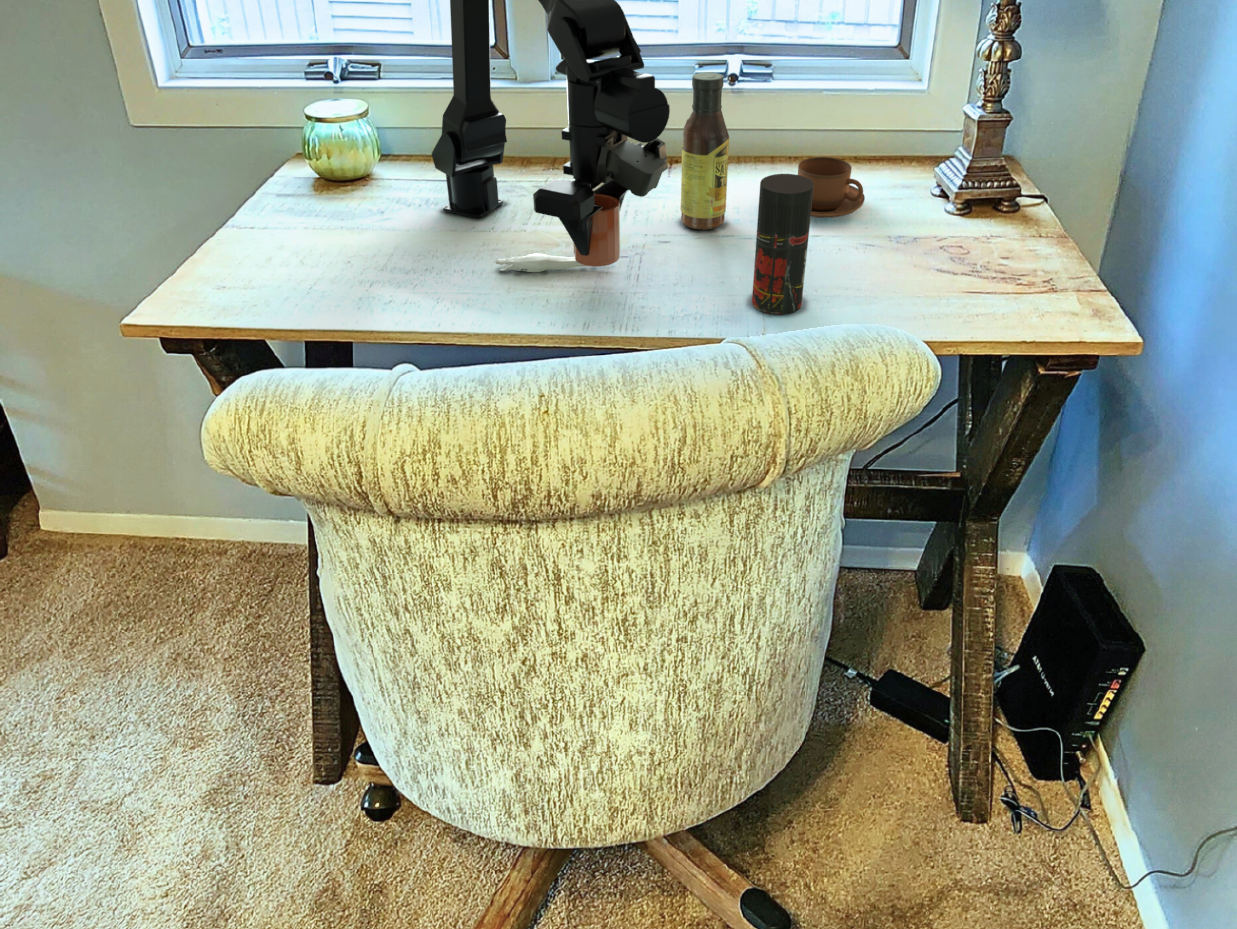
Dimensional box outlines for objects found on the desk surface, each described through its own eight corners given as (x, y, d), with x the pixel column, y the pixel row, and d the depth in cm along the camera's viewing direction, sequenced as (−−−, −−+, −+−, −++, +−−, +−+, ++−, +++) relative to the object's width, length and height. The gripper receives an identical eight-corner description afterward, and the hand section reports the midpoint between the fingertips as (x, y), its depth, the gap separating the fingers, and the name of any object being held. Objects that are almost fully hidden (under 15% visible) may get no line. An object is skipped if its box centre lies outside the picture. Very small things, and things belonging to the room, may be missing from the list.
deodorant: (747, 293, 126) (755, 174, 117) (795, 290, 126) (806, 172, 117) (757, 316, 121) (766, 194, 112) (806, 313, 121) (819, 192, 112)
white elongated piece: (495, 275, 131) (494, 261, 129) (496, 266, 133) (495, 252, 132) (612, 271, 131) (612, 258, 130) (611, 262, 133) (611, 249, 132)
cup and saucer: (868, 197, 149) (874, 155, 146) (856, 229, 140) (861, 186, 137) (787, 188, 153) (790, 147, 149) (770, 219, 143) (773, 176, 140)
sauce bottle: (722, 233, 140) (729, 84, 128) (677, 230, 141) (680, 82, 129) (727, 214, 145) (735, 70, 133) (684, 211, 146) (687, 68, 134)
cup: (565, 261, 127) (563, 207, 122) (588, 243, 131) (587, 190, 126) (606, 270, 124) (605, 215, 120) (628, 252, 128) (627, 198, 124)
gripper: (615, 156, 108) (617, 290, 117) (691, 105, 121) (687, 229, 130) (526, 140, 112) (535, 270, 121) (608, 93, 125) (610, 214, 134)
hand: (596, 245), depth 127 cm, fingers closed on cup, 6 cm apart
